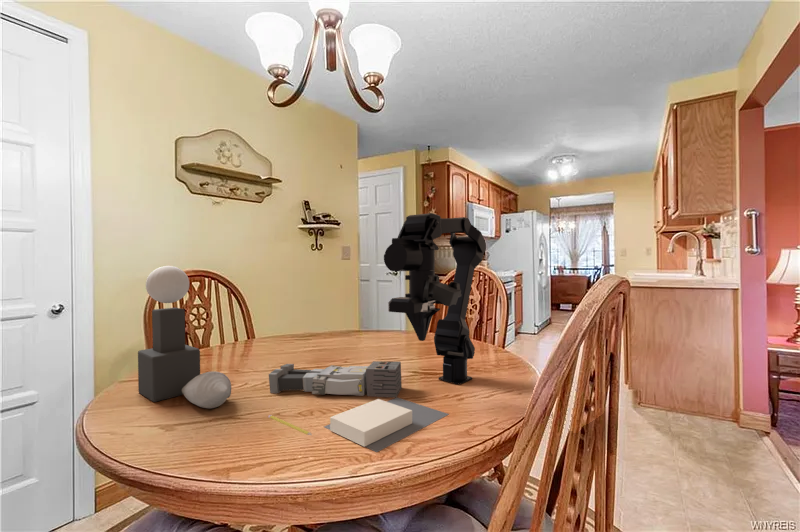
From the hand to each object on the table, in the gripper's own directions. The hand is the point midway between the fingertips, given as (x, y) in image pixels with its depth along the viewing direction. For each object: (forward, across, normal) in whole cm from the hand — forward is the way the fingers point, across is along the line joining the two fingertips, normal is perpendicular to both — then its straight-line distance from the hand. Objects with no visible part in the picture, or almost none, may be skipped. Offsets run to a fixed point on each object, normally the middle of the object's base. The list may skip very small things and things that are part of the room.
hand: (422, 340), depth 85 cm
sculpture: (+13, -27, +54) cm, 61 cm away
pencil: (+14, -26, +14) cm, 32 cm away
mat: (+13, -14, 0) cm, 19 cm away
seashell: (+13, -27, +39) cm, 50 cm away
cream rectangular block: (+11, -13, -1) cm, 17 cm away
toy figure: (+14, -6, +20) cm, 25 cm away
